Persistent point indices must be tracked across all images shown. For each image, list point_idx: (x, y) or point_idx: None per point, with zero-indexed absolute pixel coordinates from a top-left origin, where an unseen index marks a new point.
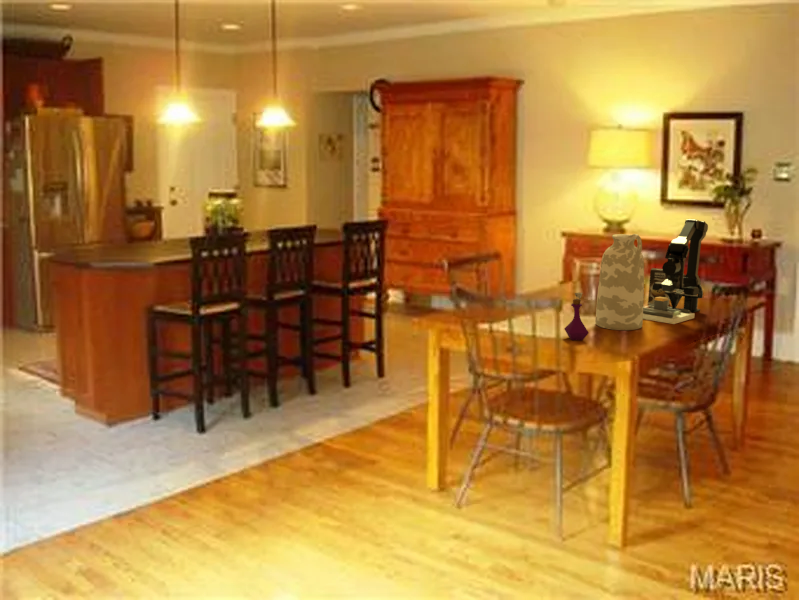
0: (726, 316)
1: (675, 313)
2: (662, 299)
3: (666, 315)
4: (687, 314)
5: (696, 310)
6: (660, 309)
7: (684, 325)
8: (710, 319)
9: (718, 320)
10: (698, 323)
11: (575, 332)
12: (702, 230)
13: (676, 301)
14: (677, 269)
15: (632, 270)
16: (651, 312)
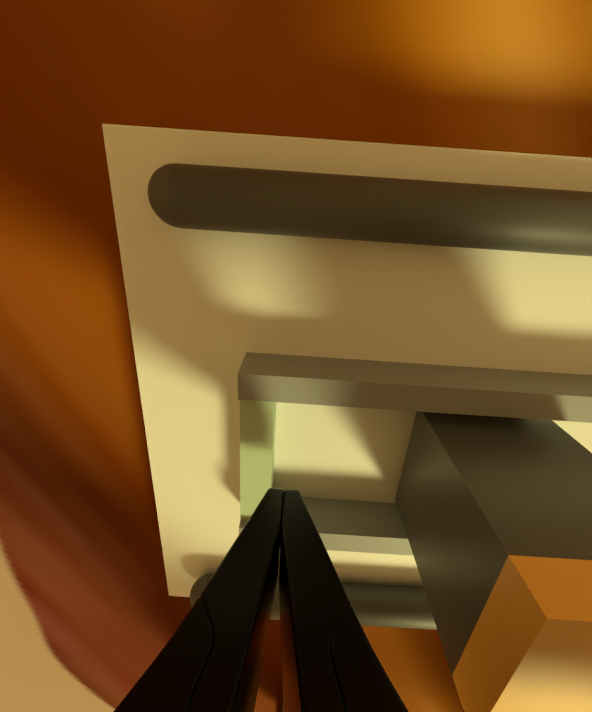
0: (85, 686)
1: (241, 425)
2: (562, 603)
3: (255, 169)
4: (184, 530)
5: (282, 706)
6: (469, 432)
7: (9, 177)
8: (78, 580)
9: (22, 584)
10: (14, 397)
11: None
12: None
13: (192, 610)
14: None
15: None
16: (565, 195)
